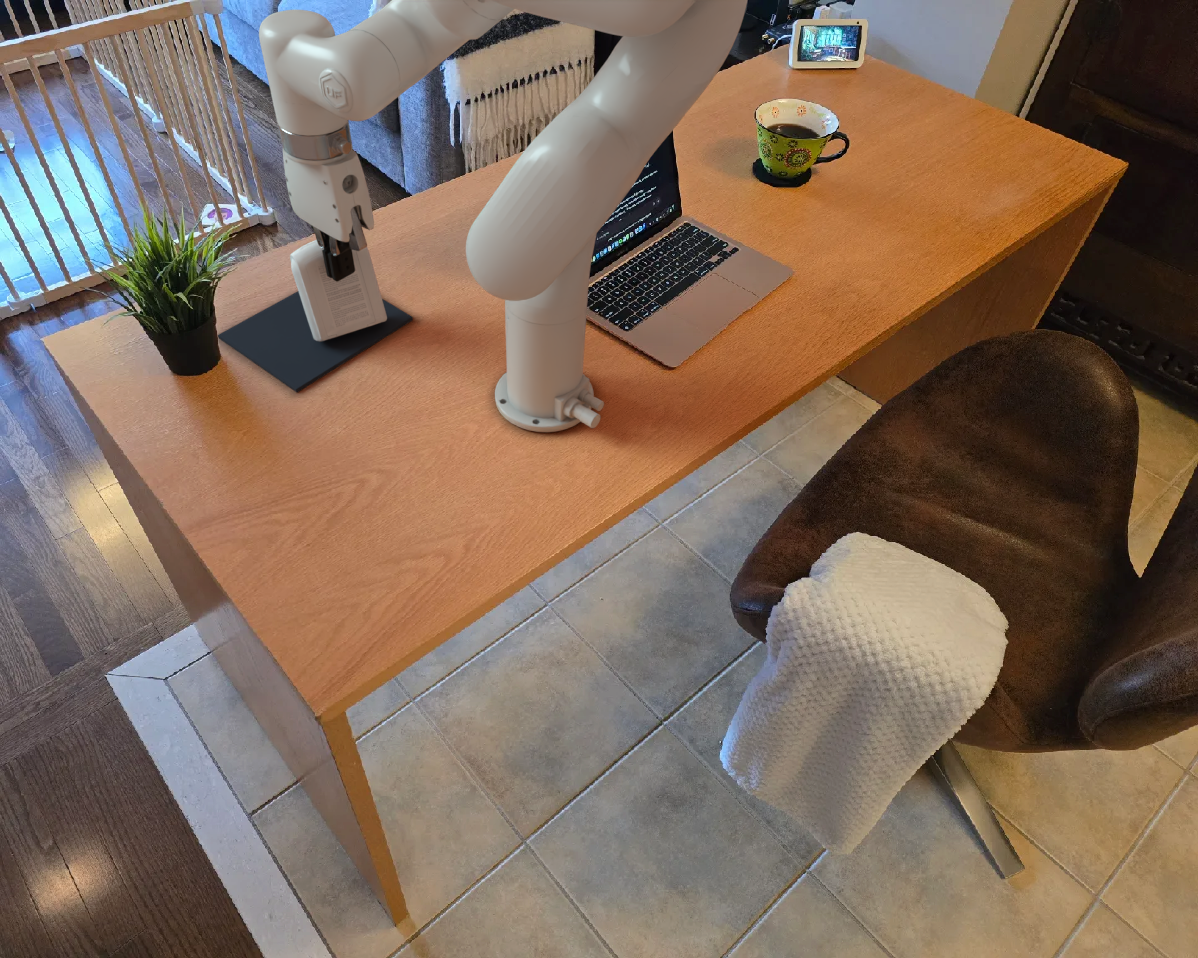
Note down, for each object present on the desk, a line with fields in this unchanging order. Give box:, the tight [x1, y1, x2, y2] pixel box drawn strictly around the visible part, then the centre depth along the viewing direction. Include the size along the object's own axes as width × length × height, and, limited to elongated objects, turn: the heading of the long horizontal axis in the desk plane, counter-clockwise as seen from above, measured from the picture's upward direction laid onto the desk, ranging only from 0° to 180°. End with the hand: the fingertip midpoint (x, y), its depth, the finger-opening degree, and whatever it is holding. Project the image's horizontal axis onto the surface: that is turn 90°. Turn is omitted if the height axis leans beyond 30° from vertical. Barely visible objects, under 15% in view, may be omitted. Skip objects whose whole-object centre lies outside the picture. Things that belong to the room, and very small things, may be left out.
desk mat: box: [217, 290, 414, 393], centre depth 119 cm, size 16×20×1 cm
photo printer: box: [289, 239, 387, 341], centre depth 114 cm, size 10×4×12 cm, turn 124°
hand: (341, 274), depth 110 cm, fingers closed
